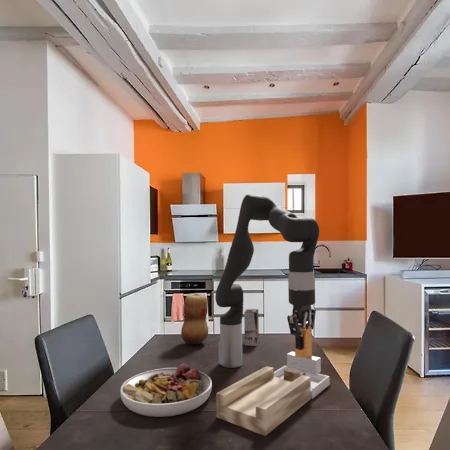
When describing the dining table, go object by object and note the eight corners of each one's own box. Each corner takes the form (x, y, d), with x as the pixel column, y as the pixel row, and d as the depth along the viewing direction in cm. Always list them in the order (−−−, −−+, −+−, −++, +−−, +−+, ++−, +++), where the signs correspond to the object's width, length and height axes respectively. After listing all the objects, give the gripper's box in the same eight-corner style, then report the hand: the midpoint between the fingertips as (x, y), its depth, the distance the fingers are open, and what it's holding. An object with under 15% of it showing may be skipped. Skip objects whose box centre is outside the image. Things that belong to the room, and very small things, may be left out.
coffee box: (257, 346, 177) (256, 312, 177) (244, 345, 178) (243, 312, 178) (259, 340, 186) (258, 309, 186) (246, 340, 187) (246, 308, 187)
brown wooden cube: (283, 382, 126) (284, 370, 127) (288, 382, 129) (289, 370, 130) (293, 385, 123) (294, 373, 124) (298, 384, 126) (299, 372, 127)
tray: (265, 385, 130) (265, 376, 130) (285, 373, 141) (284, 365, 141) (312, 398, 119) (312, 389, 119) (329, 384, 130) (329, 376, 130)
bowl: (187, 429, 102) (187, 400, 102) (100, 412, 112) (100, 386, 112) (224, 387, 130) (224, 364, 130) (152, 376, 140) (152, 356, 140)
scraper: (286, 368, 105) (286, 326, 105) (292, 364, 108) (292, 324, 108) (315, 375, 99) (315, 331, 100) (321, 371, 102) (320, 328, 102)
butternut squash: (197, 349, 172) (196, 296, 173) (175, 345, 179) (175, 294, 180) (214, 342, 183) (213, 292, 184) (193, 338, 191) (192, 291, 192)
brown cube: (290, 372, 129) (295, 369, 133) (290, 384, 129) (295, 380, 132) (300, 375, 127) (305, 372, 130) (300, 387, 127) (305, 383, 130)
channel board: (216, 417, 108) (216, 393, 108) (266, 385, 130) (266, 366, 130) (265, 436, 97) (264, 409, 97) (310, 398, 119) (310, 377, 119)
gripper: (300, 283, 112) (302, 339, 112) (277, 289, 101) (278, 351, 101) (324, 285, 108) (325, 343, 107) (302, 291, 96) (303, 356, 96)
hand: (302, 347), depth 104 cm, fingers closed on scraper, 3 cm apart
